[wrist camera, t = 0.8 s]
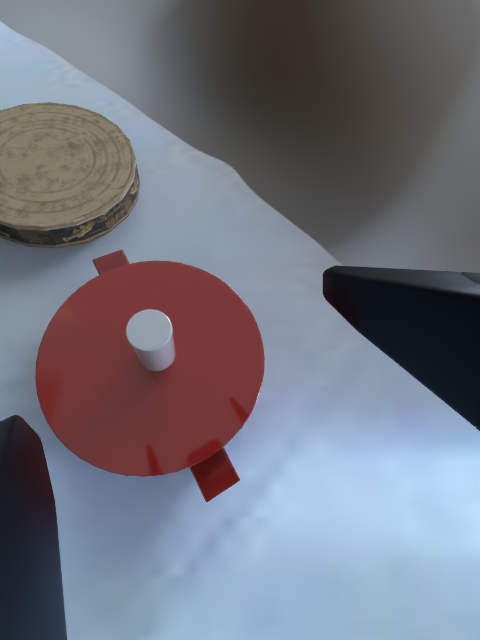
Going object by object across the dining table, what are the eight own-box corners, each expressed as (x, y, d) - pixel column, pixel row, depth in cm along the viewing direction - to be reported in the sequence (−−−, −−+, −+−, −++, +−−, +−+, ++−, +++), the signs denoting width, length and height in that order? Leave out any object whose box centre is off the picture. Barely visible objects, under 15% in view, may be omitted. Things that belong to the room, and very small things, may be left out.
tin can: (35, 278, 28) (18, 259, 25) (-65, 173, 30) (-90, 145, 28) (171, 193, 34) (169, 170, 31) (77, 111, 36) (68, 83, 34)
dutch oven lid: (203, 243, 26) (207, 192, 21) (299, 400, 22) (332, 385, 17) (13, 314, 21) (-42, 270, 16) (90, 529, 17) (50, 561, 12)
